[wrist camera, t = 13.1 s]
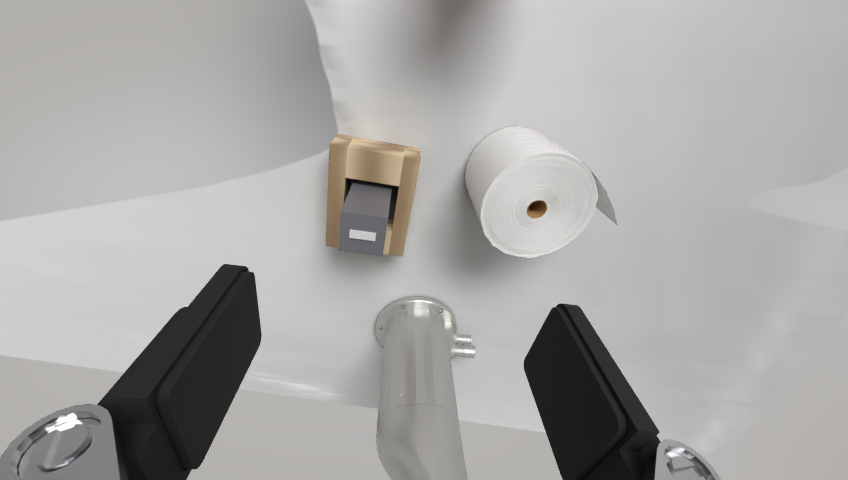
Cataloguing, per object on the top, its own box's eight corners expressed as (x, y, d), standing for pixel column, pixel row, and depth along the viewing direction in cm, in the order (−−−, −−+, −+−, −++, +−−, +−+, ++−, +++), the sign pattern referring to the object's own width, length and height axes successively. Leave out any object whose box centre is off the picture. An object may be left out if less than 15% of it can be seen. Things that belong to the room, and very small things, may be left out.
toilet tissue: (451, 148, 36) (464, 181, 27) (557, 103, 34) (607, 124, 25) (479, 224, 41) (497, 271, 33) (572, 189, 39) (618, 230, 31)
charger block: (392, 181, 37) (388, 219, 29) (387, 213, 39) (382, 257, 31) (355, 175, 36) (340, 212, 28) (352, 208, 38) (338, 251, 30)
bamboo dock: (419, 148, 36) (420, 159, 32) (402, 238, 42) (402, 256, 38) (337, 134, 35) (329, 143, 31) (332, 229, 41) (325, 245, 37)
